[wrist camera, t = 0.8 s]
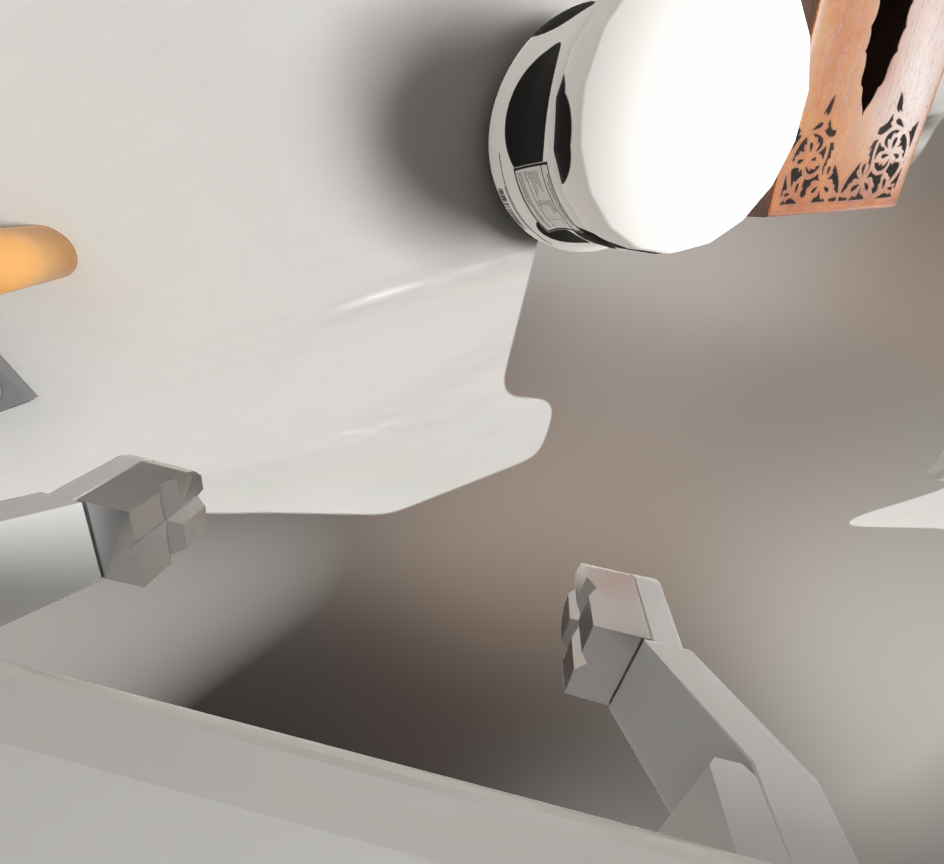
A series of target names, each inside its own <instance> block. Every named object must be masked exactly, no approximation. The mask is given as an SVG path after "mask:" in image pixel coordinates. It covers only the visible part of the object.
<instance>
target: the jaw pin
mask: <svg viewBox="0 0 944 864" xmlns="http://www.w3.org/2000/svg"><path fill="white" fill-rule="evenodd" d="M76 266H77V254H76V251H75V249H74V247H73V246H72V244H71V243H70V242H69V240H68V239H67V238H66V237H64V236H63V235H62V234H61V233H59V232H58V231H56V230H54V229H52V228H49V227H46V226H42V225H26V226H13V227H0V295H1V294H4V293H8V292H12V291H15V290H19V289H23V288H26V287H30V286H34V285H37V284H41V283H45V282H49V281H52V280H56V279H60V278H63V277H66V276H69V275H70V274H72V273H73V272H74V270H75V269H76Z"/></svg>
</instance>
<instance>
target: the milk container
mask: <svg viewBox="0 0 944 864" xmlns="http://www.w3.org/2000/svg"><path fill="white" fill-rule="evenodd" d="M809 60H810V34H809V30H808V27H807V23H806V19H805V15H804V11H803V7H802V4H801V0H594V1H590V2H586V3H582V4H579V5H577V6H574V7H572V8H570V9H568V10H566V11H564V12H562V13H560V14H559V15H557V16H556V17H554V18H553V19H551V20H550V21H548V22H547V23H546V24H545V25H544V26H542V27H541V28H540V29H539V30H538V31H537V32H536V33H535V34H534V35H533V36H532V37H531V38H530V39H529V40H528V41H527V43H526V44H525V45H524V46H523V48H522V49H521V50H520V52H519V53H518V55H517V56H516V57H515V59H514V61H513V62H512V64H511V66H510V67H509V69H508V71H507V73H506V75H505V77H504V79H503V81H502V84H501V86H500V89H499V91H498V94H497V97H496V100H495V103H494V107H493V111H492V115H491V121H490V128H489V160H490V167H491V172H492V177H493V180H494V184H495V187H496V190H497V192H498V195H499V197H500V199H501V201H502V203H503V205H504V206H505V208H506V210H507V211H508V213H509V214H510V215H511V217H512V218H513V219H514V220H515V222H516V223H517V224H518V225H519V226H520V227H521V228H522V229H523V230H525V231H526V232H527V233H528V234H529V235H531V236H532V237H534V238H535V239H537V240H539V241H540V242H542V243H544V244H546V245H549V246H551V247H554V248H557V249H561V250H565V251H572V252H590V251H597V250H602V249H605V248H614V249H619V250H625V251H640V252H647V253H654V254H669V253H674V252H678V251H682V250H686V249H689V248H693V247H697V246H700V245H704V244H708V243H710V242H712V241H713V240H715V239H716V238H718V237H719V236H720V235H722V234H723V233H725V232H726V231H728V230H729V229H731V228H732V227H734V226H735V225H736V224H738V223H739V222H741V221H742V220H743V219H744V218H745V217H746V216H747V215H748V213H749V212H750V211H751V210H752V209H753V208H754V206H755V205H756V204H757V203H758V202H759V200H760V199H761V198H762V197H763V196H764V195H765V193H766V192H767V191H768V190H769V189H770V187H771V186H772V185H773V183H774V181H775V179H776V177H777V175H778V173H779V171H780V169H781V167H782V165H783V163H784V162H785V160H786V158H787V156H788V154H789V152H790V150H791V148H792V146H793V144H794V142H795V139H796V136H797V132H798V128H799V124H800V121H801V117H802V113H803V109H804V106H805V102H806V98H807V94H808V90H809Z"/></svg>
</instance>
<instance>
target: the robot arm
mask: <svg viewBox="0 0 944 864" xmlns="http://www.w3.org/2000/svg"><path fill="white" fill-rule="evenodd" d="M202 490H203V484H202V478H201V475H199V474H198V473H197V472H195V471H192V470H188V469H184V468H181V467H177V466H173V465H169V464H165V463H161V462H158V461H154V460H148V459H145V458H141V457H137V456H133V455H120V456H118V457H116V458H114V459H113V460H111V461H109V462H107V463H105V464H103V465H101V466H100V467H98V468H96V469H94V470H92V471H90V472H88V473H86V474H85V475H83V476H81V477H79V478H77V479H75V480H73V481H72V482H70V483H68V484H66V485H64V486H62V487H60V488H59V489H57V490H55V491H53V492H51V493H49V494H46V493H42V492H40V493H35V494H30V495H26V496H21V497H16V498H12V499H7V500H2V501H0V626H2V625H5V624H7V623H9V622H11V621H14V620H16V619H18V618H20V617H22V616H24V615H27V614H29V613H31V612H33V611H36V610H38V609H40V608H42V607H44V606H46V605H49V604H51V603H53V602H55V601H58V600H59V599H62V598H64V597H66V596H69V595H70V594H73V593H75V592H77V591H79V590H82V589H84V588H86V587H88V586H91V585H93V584H95V583H97V582H99V581H101V580H102V578H105V579H110V580H114V581H119V582H123V583H128V584H132V585H137V586H141V587H145V586H146V585H147V584H148V583H149V582H151V581H152V580H153V579H154V578H155V577H156V576H157V575H158V574H159V573H160V572H162V571H163V570H164V569H165V568H166V567H167V566H168V565H169V564H170V563H171V556H172V554H173V553H176V552H179V551H182V550H184V549H187V548H188V547H189V546H190V545H191V544H192V543H193V542H194V541H195V540H196V539H197V538H198V536H199V534H200V533H201V531H202V529H203V527H204V524H205V519H206V509H205V505H204V504H203V502H202V501H201V500H200V499H199V497H198V494H199V493H200V492H201V491H202ZM574 580H575V590H573V591H571V592H570V593H568V596H567V599H566V601H565V604H564V608H563V614H562V619H561V641H562V642H563V644H564V645H565V646H566V648H567V650H566V653H565V655H564V658H563V661H562V662H563V678H564V693H567V694H570V695H574V696H577V697H581V698H585V699H588V700H592V701H595V702H599V703H602V704H606V705H609V709H610V711H611V713H612V714H613V716H614V717H615V719H616V721H617V723H618V725H619V726H620V728H621V730H622V731H623V733H624V735H625V737H626V738H627V740H628V742H629V743H630V745H631V746H632V749H633V750H634V752H635V754H636V755H637V757H638V759H639V760H640V762H641V764H642V766H643V767H644V769H645V771H646V773H647V774H648V776H649V778H650V780H651V781H652V783H653V785H654V786H655V788H656V790H657V791H658V793H659V795H660V797H661V798H662V800H663V802H664V804H665V805H666V807H667V808H668V810H669V812H670V813H671V815H670V817H669V818H668V819H667V820H666V822H665V823H664V824H663V826H662V827H661V828H660V830H659V831H658V832H654V831H650V830H646V829H642V828H638V827H635V826H631V825H627V824H624V823H620V822H616V821H612V820H608V819H604V818H601V817H597V816H593V815H589V814H585V813H581V812H578V811H574V810H570V809H567V808H563V807H559V806H555V805H551V804H547V803H544V802H540V801H536V800H533V799H529V798H525V797H521V796H517V795H514V794H510V793H506V792H502V791H499V790H495V789H491V788H487V787H483V786H479V785H475V784H472V783H468V782H464V781H461V780H456V779H453V778H449V777H445V776H442V775H438V774H434V773H430V772H427V771H423V770H419V769H415V768H411V767H407V766H403V765H399V764H396V763H392V762H389V761H384V760H381V759H377V758H373V757H369V756H365V755H362V754H358V753H354V752H351V751H347V750H343V749H339V748H335V747H331V746H327V745H324V744H320V743H316V742H313V741H309V740H305V739H301V738H297V737H293V736H290V735H286V734H282V733H278V732H274V731H270V730H267V729H263V728H259V727H256V726H252V725H248V724H244V723H241V722H237V721H233V720H229V719H225V718H222V717H217V716H214V715H210V714H206V713H202V712H198V711H195V710H191V709H187V708H184V707H180V706H176V705H172V704H169V703H164V702H161V701H157V700H153V699H150V698H146V697H142V696H138V695H134V694H131V693H127V692H123V691H119V690H115V689H112V688H107V687H104V686H100V685H97V684H93V683H89V682H85V681H81V680H78V679H73V678H70V677H66V676H63V675H59V674H55V673H51V672H47V671H44V670H40V669H36V668H32V667H28V666H25V665H21V664H17V663H13V662H10V661H6V660H2V659H0V864H859V863H858V861H857V859H856V857H855V855H854V853H853V851H852V849H851V847H850V845H849V843H848V841H847V839H846V837H845V835H844V833H843V831H842V829H841V827H840V825H839V823H838V821H837V819H836V817H835V815H834V813H833V811H832V809H831V807H830V805H829V803H828V801H827V799H826V797H825V795H824V793H823V791H822V789H821V787H820V785H819V783H818V781H817V780H816V779H815V778H814V777H813V776H812V775H811V774H810V773H809V772H808V771H807V770H806V769H805V768H804V767H803V766H802V765H801V764H800V762H798V760H797V759H796V758H795V757H794V756H793V755H792V754H791V753H790V752H789V751H788V750H787V749H786V748H785V747H784V746H783V745H782V744H781V743H780V742H779V741H778V740H777V739H776V738H775V737H774V736H773V735H772V734H771V733H770V732H769V731H768V729H767V728H766V727H765V726H764V725H763V724H762V723H761V722H760V721H759V720H758V719H757V718H756V717H755V716H754V715H753V714H752V713H751V712H750V711H749V710H748V709H747V708H746V707H745V706H744V705H743V704H742V703H741V702H740V701H739V700H738V699H737V698H736V697H735V696H734V695H733V693H732V692H730V690H729V689H728V688H727V687H726V686H725V685H724V684H723V683H722V682H721V681H720V680H719V679H718V678H717V677H716V676H715V675H714V674H713V673H712V672H711V671H710V670H709V669H708V668H707V667H706V666H705V665H704V664H703V663H702V662H701V660H700V659H698V657H697V656H696V655H695V654H694V653H693V652H692V651H690V650H687V649H683V648H682V645H681V642H680V639H679V637H678V633H677V630H676V628H675V625H674V622H673V619H672V616H671V613H670V611H669V607H668V605H667V602H666V599H665V596H664V594H663V591H662V588H661V585H660V583H659V582H658V581H657V580H656V579H653V578H648V577H644V576H639V575H635V574H627V573H622V572H618V571H614V570H610V569H605V568H601V567H597V566H592V565H588V564H584V563H581V564H580V566H579V567H578V569H577V572H576V575H575V577H574Z"/></svg>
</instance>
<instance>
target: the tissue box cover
mask: <svg viewBox="0 0 944 864" xmlns="http://www.w3.org/2000/svg"><path fill="white" fill-rule="evenodd" d="M801 4H802V7H803V11H804V15H805V19H806V23H807V27H808V30H809V34H810V60H809V90H808V94H807V98H806V102H805V106H804V109H803V113H802V117H801V121H800V124H799V128H798V132H797V136H796V139H795V142H794V144H793V146H792V148H791V150H790V152H789V154H788V156H787V158H786V160H785V162H784V163H783V165H782V167H781V169H780V171H779V173H778V175H777V177H776V179H775V181H774V183H773V185H772V186H771V187H770V189H769V190H768V191H767V192H766V193H765V195H764V196H763V197H762V198H761V199H760V200H759V202H758V203H757V204H756V205H755V206H754V208H753V209H752V210H751V211H750V212H749V213H748V215H747V216H750V217H774V216H787V215H799V214H810V213H823V212H835V211H847V210H860V209H870V208H871V209H872V208H884V207H894V206H895V204H896V202H897V199H898V196H899V193H900V190H901V188H902V185H903V182H904V179H905V177H906V174H907V171H908V169H909V166H910V163H911V160H912V157H913V155H914V152H915V149H916V146H917V144H918V141H919V138H920V135H921V133H922V130H923V127H924V124H925V121H926V119H927V116H928V113H929V110H930V108H931V105H932V102H933V99H934V97H935V94H936V91H937V88H938V86H939V83H940V80H941V77H942V74H943V72H944V0H801Z"/></svg>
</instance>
